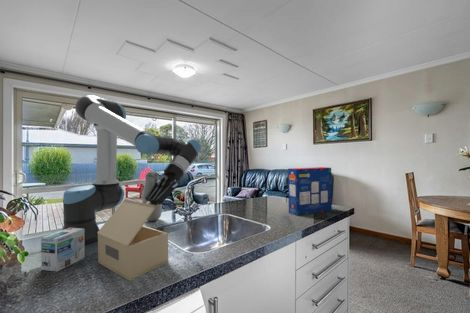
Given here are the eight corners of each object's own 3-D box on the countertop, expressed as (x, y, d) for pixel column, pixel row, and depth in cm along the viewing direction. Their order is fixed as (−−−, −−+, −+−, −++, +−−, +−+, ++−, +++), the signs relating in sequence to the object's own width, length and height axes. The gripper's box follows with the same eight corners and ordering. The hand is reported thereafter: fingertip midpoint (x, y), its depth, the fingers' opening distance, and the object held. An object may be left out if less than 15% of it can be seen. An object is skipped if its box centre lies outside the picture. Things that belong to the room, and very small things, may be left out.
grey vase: (139, 223, 124) (138, 172, 123) (149, 218, 134) (148, 171, 134) (156, 223, 122) (155, 172, 122) (164, 218, 132) (164, 170, 132)
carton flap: (98, 233, 78) (96, 232, 77) (125, 200, 86) (124, 199, 85) (127, 246, 66) (126, 245, 66) (156, 206, 74) (155, 205, 74)
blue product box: (322, 208, 153) (321, 167, 153) (331, 210, 146) (331, 167, 146) (288, 212, 142) (288, 168, 142) (297, 215, 135) (296, 169, 134)
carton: (97, 262, 78) (97, 233, 78) (136, 248, 89) (135, 223, 89) (128, 280, 66) (127, 246, 66) (168, 262, 77) (167, 233, 77)
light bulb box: (57, 272, 71) (56, 238, 71) (40, 270, 73) (39, 237, 73) (85, 257, 82) (85, 228, 82) (70, 256, 83) (70, 227, 83)
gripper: (192, 175, 92) (157, 227, 78) (171, 174, 99) (136, 221, 86) (182, 163, 87) (143, 215, 74) (161, 162, 95) (122, 210, 81)
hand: (139, 218), depth 80 cm, fingers closed
